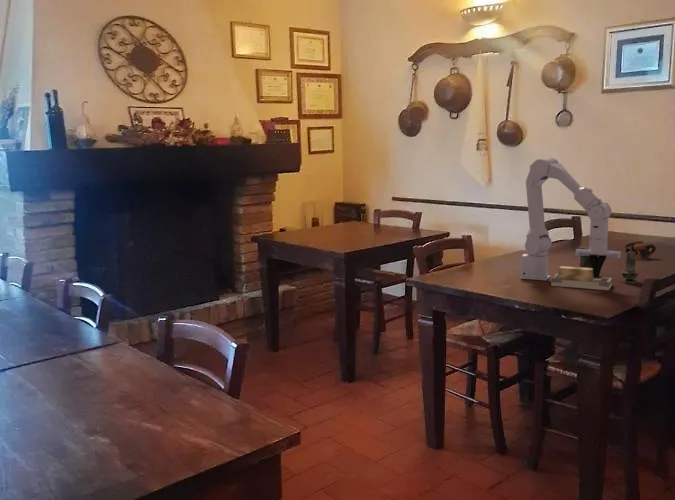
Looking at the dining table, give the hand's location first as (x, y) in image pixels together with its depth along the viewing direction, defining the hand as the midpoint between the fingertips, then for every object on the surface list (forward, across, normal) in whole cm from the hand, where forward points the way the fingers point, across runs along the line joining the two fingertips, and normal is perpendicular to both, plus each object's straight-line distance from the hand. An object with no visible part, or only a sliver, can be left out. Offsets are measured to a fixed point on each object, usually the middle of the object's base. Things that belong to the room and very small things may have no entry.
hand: (596, 276), depth 234 cm
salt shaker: (+4, -10, -12) cm, 16 cm away
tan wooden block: (+2, +7, 0) cm, 7 cm away
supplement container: (+4, +5, -19) cm, 20 cm away
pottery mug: (+4, -9, -62) cm, 63 cm away
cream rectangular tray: (+3, +5, 0) cm, 6 cm away
